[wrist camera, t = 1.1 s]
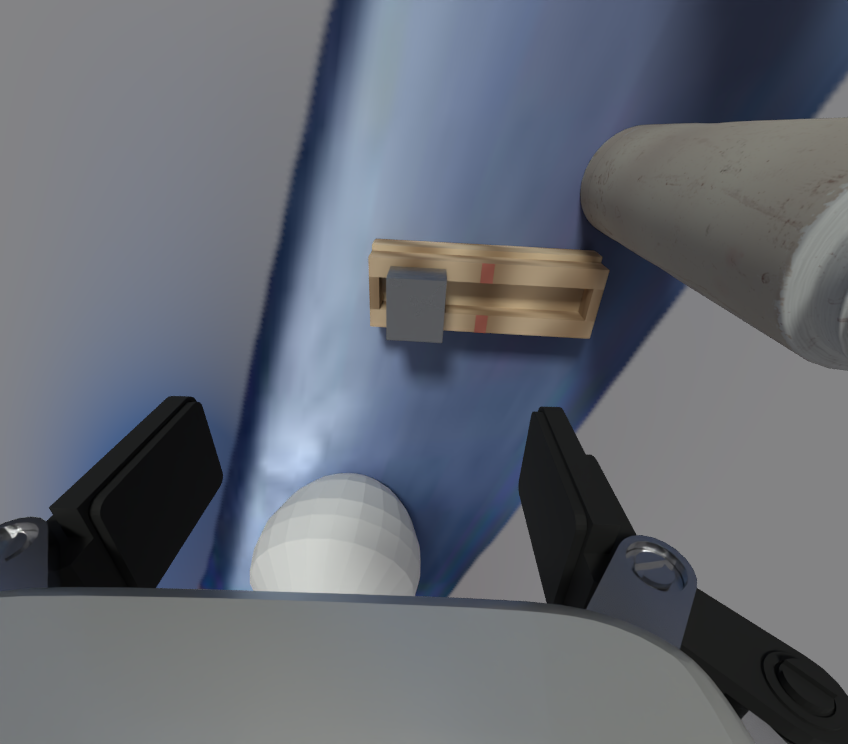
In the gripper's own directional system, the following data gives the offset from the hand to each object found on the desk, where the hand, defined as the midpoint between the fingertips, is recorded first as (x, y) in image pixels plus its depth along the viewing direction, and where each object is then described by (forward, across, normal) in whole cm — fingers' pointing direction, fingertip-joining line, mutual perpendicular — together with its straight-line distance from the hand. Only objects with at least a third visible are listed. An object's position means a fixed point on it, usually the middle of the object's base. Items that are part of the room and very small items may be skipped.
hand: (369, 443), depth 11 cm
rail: (+27, -6, +3) cm, 28 cm away
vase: (+28, +7, +33) cm, 44 cm away
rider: (+24, -1, +3) cm, 25 cm away
